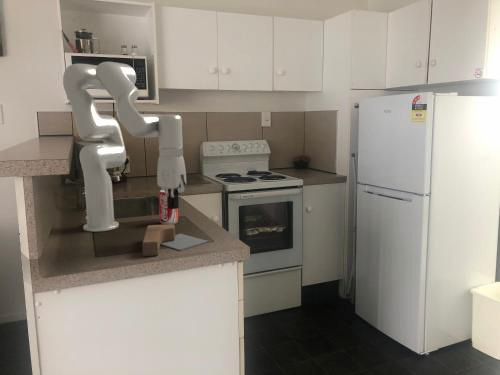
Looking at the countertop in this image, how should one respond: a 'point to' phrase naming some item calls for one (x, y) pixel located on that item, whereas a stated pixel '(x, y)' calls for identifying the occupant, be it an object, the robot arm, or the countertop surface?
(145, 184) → the countertop surface
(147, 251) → the wooden block
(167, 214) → the soda can
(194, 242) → the rubber mat
